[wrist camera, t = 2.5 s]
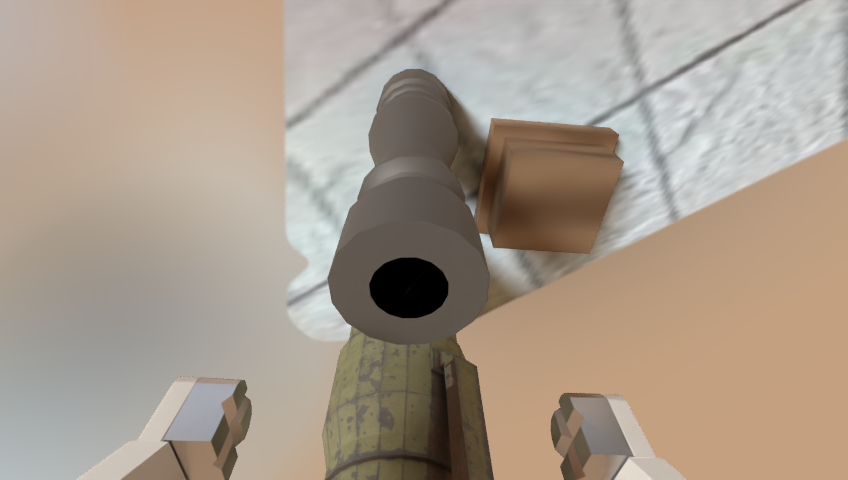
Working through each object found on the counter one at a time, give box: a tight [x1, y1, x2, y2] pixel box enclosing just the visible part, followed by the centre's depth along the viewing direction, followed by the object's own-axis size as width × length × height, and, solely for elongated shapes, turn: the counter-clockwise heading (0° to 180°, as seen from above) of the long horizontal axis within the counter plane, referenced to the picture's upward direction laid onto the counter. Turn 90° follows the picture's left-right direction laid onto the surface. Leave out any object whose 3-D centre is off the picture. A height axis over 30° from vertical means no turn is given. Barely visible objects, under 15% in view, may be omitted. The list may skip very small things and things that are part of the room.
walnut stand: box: [474, 118, 624, 254], centre depth 36 cm, size 11×11×6 cm
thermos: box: [322, 326, 494, 480], centre depth 27 cm, size 9×12×35 cm
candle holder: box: [328, 69, 489, 345], centre depth 24 cm, size 6×6×25 cm
